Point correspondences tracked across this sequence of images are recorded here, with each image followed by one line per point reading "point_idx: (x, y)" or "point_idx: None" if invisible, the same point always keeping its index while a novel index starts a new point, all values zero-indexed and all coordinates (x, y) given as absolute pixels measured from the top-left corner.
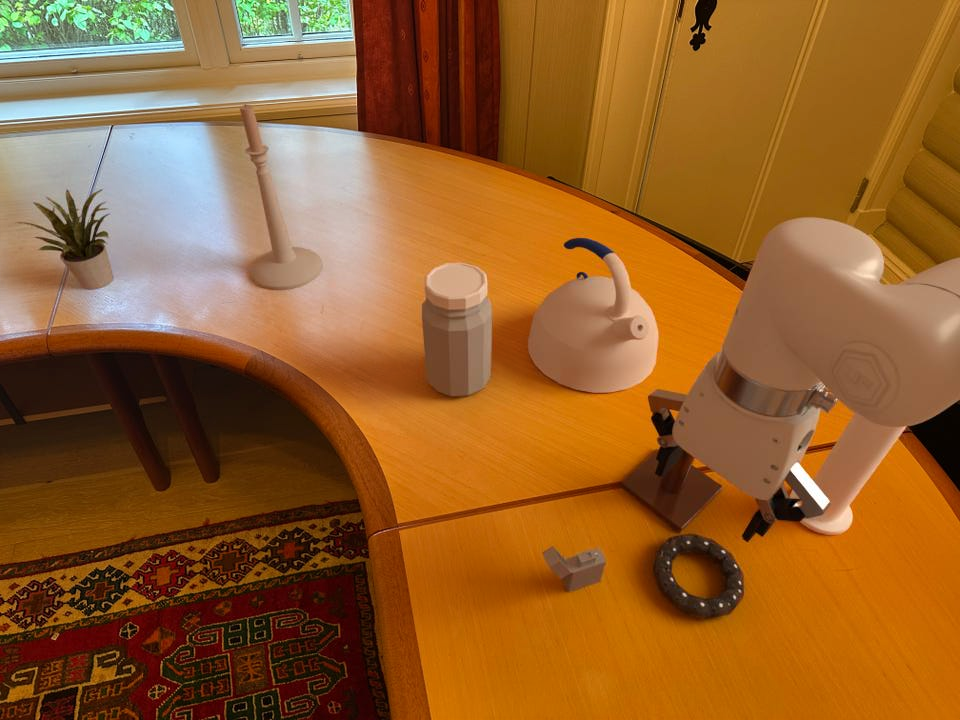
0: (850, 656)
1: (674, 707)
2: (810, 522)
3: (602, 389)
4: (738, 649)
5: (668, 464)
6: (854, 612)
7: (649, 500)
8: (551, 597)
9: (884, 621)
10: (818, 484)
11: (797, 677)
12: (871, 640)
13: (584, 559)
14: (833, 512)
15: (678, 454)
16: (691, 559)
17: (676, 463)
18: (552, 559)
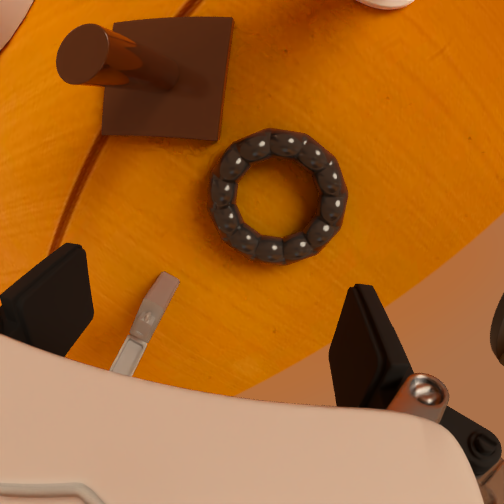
0: (470, 176)
1: (321, 344)
2: (378, 1)
3: (12, 27)
4: (363, 252)
5: (72, 326)
6: (464, 112)
7: (149, 131)
8: None
9: (489, 106)
10: None
11: (427, 239)
12: (484, 141)
13: (143, 335)
14: None
15: (60, 290)
16: (257, 169)
17: (85, 253)
18: None
